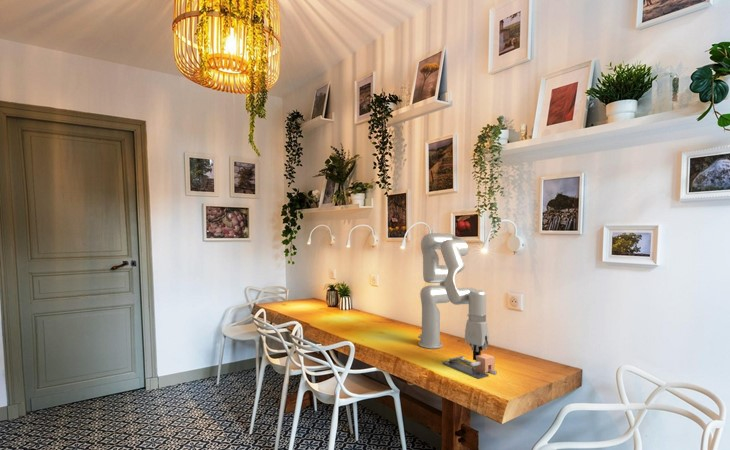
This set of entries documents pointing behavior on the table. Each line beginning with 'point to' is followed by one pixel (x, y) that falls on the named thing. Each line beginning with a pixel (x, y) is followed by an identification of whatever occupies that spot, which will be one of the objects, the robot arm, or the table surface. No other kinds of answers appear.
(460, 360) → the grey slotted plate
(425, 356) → the table surface
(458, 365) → the bolt plate
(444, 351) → the table surface
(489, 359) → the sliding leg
